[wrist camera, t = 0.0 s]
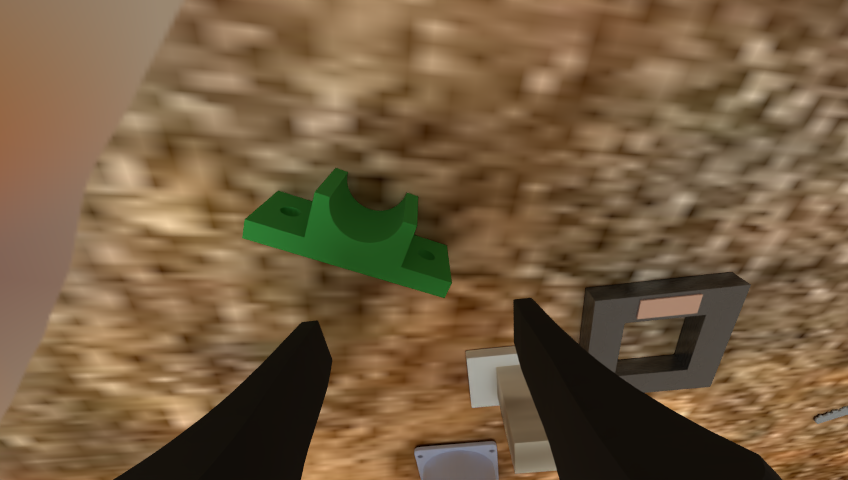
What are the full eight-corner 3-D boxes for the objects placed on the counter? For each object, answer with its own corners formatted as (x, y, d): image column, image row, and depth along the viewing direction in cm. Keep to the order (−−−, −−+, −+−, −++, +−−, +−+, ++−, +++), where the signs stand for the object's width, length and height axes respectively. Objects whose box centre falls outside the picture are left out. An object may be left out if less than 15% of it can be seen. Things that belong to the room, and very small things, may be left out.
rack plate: (696, 371, 28) (711, 387, 26) (574, 382, 28) (582, 399, 27) (731, 272, 23) (752, 285, 22) (585, 288, 24) (596, 302, 22)
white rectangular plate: (562, 391, 29) (565, 399, 28) (470, 399, 29) (471, 407, 29) (566, 340, 26) (570, 348, 25) (465, 350, 27) (466, 358, 26)
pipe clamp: (462, 209, 21) (472, 244, 17) (440, 257, 23) (445, 298, 19) (285, 149, 19) (249, 172, 15) (275, 205, 21) (241, 239, 17)
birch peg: (539, 392, 28) (567, 469, 22) (497, 396, 28) (515, 473, 23) (540, 362, 26) (570, 438, 21) (496, 367, 26) (514, 443, 21)
